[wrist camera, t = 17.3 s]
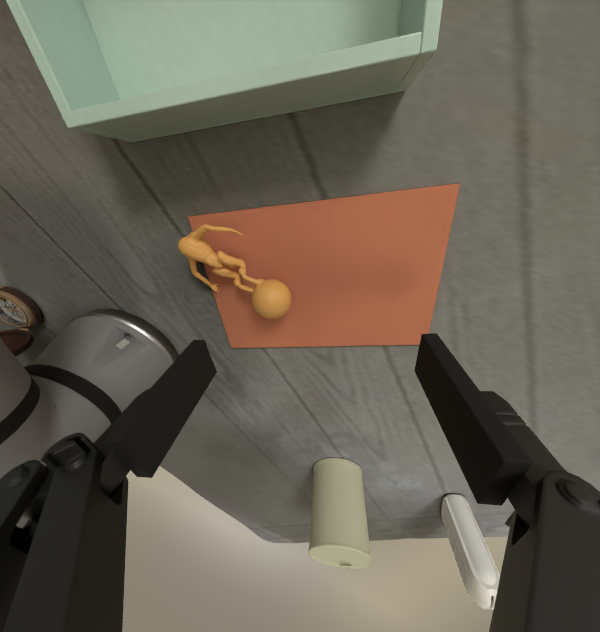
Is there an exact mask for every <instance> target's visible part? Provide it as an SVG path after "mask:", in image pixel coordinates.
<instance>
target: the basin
mask: <svg viewBox="0 0 600 632" xmlns="http://www.w3.org/2000/svg"><path fill="white" fill-rule="evenodd" d="M6 2H7V4H8V6H9V8H10V10H11V12H12V14H13V16H14V18H15V20H16V22H17V25H18V27H19V29H20V31H21V33H22V35H23V37H24V39H25V41H26V43H27V45H28V47H29V49H30V51H31V53H32V55H33V57H34V59H35V61H36V64H37V66H38V68H39V70H40V72H41V74H42V76H43V78H44V80H45V82H46V84H47V86H48V88H49V90H50V92H51V94H52V96H53V98H54V100H55V103H56V105H57V107H58V109H59V111H60V113H61V115H62V117H63V119H64V121H65V123H66V125H67V127H68V128H70V129H74V130H78V131H82V132H87V133H91V134H95V135H99V136H104V137H108V138H112V139H116V140H121V141H125V142H129V143H132V142H137V141H143V140H148V139H153V138H158V137H164V136H169V135H174V134H180V133H185V132H190V131H196V130H201V129H206V128H212V127H217V126H222V125H227V124H233V123H238V122H243V121H249V120H254V119H259V118H265V117H270V116H275V115H281V114H286V113H291V112H296V111H302V110H307V109H312V108H318V107H323V106H328V105H334V104H339V103H344V102H350V101H355V100H360V99H365V98H371V97H376V96H381V95H387V94H392V93H397V92H403V91H406V90H407V88H408V86H409V85H410V84H411V83H412V81H413V80H414V79H415V77H416V76H417V75H418V73H419V72H420V71H421V69H422V68H423V67H424V66H425V64H426V63H427V62H428V60H429V59H430V58H431V56H432V55H433V54H434V53H435V51H436V49H437V43H438V35H439V27H440V20H441V12H442V4H443V0H6Z"/></svg>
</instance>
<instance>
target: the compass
mask: <svg viewBox="0 0 600 632" xmlns="http://www.w3.org/2000/svg"><path fill="white" fill-rule="evenodd" d="M0 318H1V319H2V320H4V321H5V322H7V323H9V324H11V325H14V326H18V327H22V328H20V329H15V330H6V331H2V332H0V338H1V339H2V340H3V342H4V343H5V344H6V345H7V347H8V348H9V349H10V351H11V352H12V353H13V354H14V356H17V355H19V354H21V353H22V352H24V351H25V350H27V349H28V348H29V347H30V346H31V345H32V343H33V342H34V337H33V336H32V335H31V334H30V332H29V331H30V329H31V328H34V327H36V326H38V325H39V324H40V323H41V320H42V316H41V313H40V311H39V309H38V307H37V306H36V305H35V304H34V303H33V302H32V301H31V300H30V299H29V298H28V297H27V296H25V295H24V294H22V293H21V292H19V291H16V290H14V289H11V288H8V287H4V286H1V287H0Z"/></svg>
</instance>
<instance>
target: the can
mask: <svg viewBox="0 0 600 632" xmlns="http://www.w3.org/2000/svg"><path fill="white" fill-rule="evenodd" d="M313 472H314V477H313V499H312V516H311V531H310V545H309V555H310V556H311V557H312V558H313V559H314V560H316V561H318V562H320V563H323V564H325V565H329V566H333V567H338V568H348V569H356V568H364V567H367V566H369V565H370V564H371V562H372V558H371V552H370V546H369V536H368V528H367V519H366V510H365V501H364V492H363V482H362V470H361V468H360V467H359V466H358V465H357V464H355V463H354V462H352V461H349V460H346V459H341V458H327V459H323V460H320V461H318V462H317V463H316V464H315V465H314V467H313Z"/></svg>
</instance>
